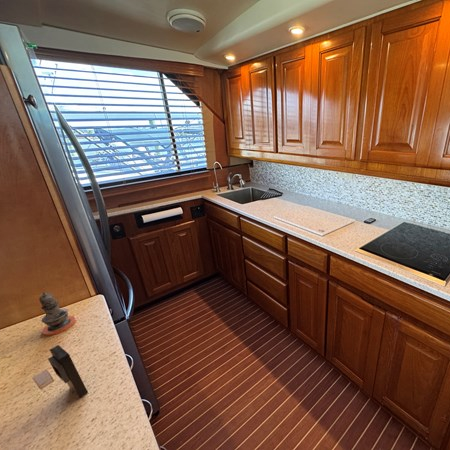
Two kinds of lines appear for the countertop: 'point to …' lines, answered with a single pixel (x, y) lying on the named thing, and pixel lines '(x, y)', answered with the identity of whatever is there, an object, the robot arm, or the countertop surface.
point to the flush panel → (67, 370)
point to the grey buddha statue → (53, 313)
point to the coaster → (46, 332)
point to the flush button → (43, 379)
